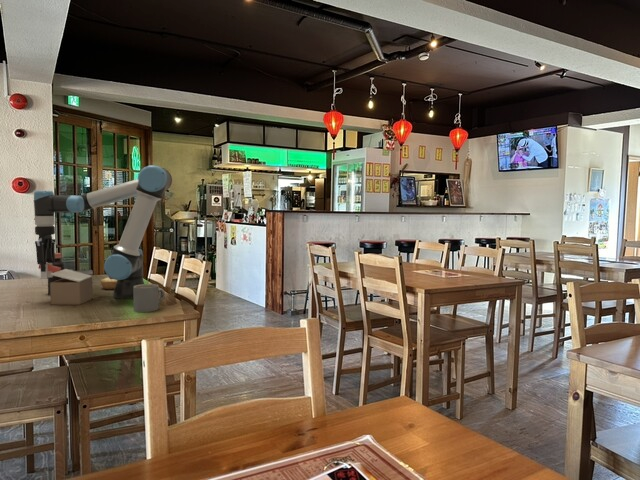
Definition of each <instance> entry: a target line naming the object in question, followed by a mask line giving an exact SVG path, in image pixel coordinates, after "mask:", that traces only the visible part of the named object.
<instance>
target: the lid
mask: <svg viewBox="0 0 640 480" xmlns="http://www.w3.org/2000/svg"><path fill="white" fill-rule="evenodd" d="M38 269H39V270H41V269H40V264H38ZM60 270H61V267H57V266H53V265H49V264H48V271H51V272H54V273H51V275H53V276H57V277H61V278H65V279H69V280H73V281H77V282H81V281H84V280H86V279H89V278H91V277H92V278H93V275H92V276H91V275H88V274H84V273H80V272H76V271H77V270H73V271H72V270H71V269H67V268H64V270H61V271H60Z"/></svg>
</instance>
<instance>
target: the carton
mask: <svg viewBox="0 0 640 480" xmlns="http://www.w3.org/2000/svg"><path fill="white" fill-rule="evenodd" d="M50 293H51V295H50V306H80V305H83V304H84V303H85V304H86V302H89V301H91V300H93V277H92V278H89V279H86V280H84V281H81V282H77V281H73V280H69V279H65V278H62V279H59V280H56V281H54V282H51V283H50Z"/></svg>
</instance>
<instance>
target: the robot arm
mask: <svg viewBox="0 0 640 480" xmlns="http://www.w3.org/2000/svg"><path fill="white" fill-rule="evenodd" d="M172 184H173V177H172V174H171V172H169V170H167V168H164V167H161V166H158V165H155V164H151V165H147V166H144V167H143V168H141V169H140V171H139V172H138V176H137V178H136V179H133V180H130V181H126V182H122V183H118V184H114V185H111V186H108V187H104V188H101V189H98V190H94V191H90V192H88V193H84V194H81V195H72V194H71V195H66V194H65V195H58V194H57V195H55V193H54V192H53V190H35V191H34V193H33V211H34V219H33V220H34V225H35V227H34V234H35V235H38V240H37V241H34V244H35V251H36V263H37V265H39V264H40V269H39V270H40V279H41V280H48V277H53V275H51V273H53V272H51V271H48V264H49V265H52V263H54V262H55V253H56V252H55V251H56V245H55V244H56V239H55V238H53V235H55V234H56V226H55V225H56V222H55V213H73V214H74V213H85V212H87V211H90V210H92V209H97V208H100V207H103V206H106V205H111V204H112V203H117V202H120V201H123V200H127V199H131V198H134V197H136V198H135V201H134V204H133V206H132V209H131V211H130V214H129V216H128V219H127V222H126V224H125V226H124V230H123V232H122V234H121V237H120V240H119V242H118V244H116V245H113V248H112V250H111V253H110V255H109V256H107V258H106V260H105V261H104V264H103V269H104V273H106V276H108V277H110V278H112V279H115V280H117V283H116V286H115V289H114V290H113V293H112V294H113V298H115V299H123V300H124V299H134V295H133V287H134V286H136V285H141V284H146V283H145V280H144V264H143V263H144V258H143V257H144V254H143V253H144V252H143V250H142V249H141V248H140V246H141V243H142V241H143V238H144V236H145V233H146V230H147V228H148V226H149V223H150V220H151V219H152V215H153V213H154V210H155V208H156V205H157V202H158V201H161V200H162V199H163V196H164V194H165V192H166V191H168V190H169V189H170V188H171V186H172Z"/></svg>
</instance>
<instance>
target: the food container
mask: <svg viewBox="0 0 640 480" xmlns="http://www.w3.org/2000/svg"><path fill="white" fill-rule="evenodd" d="M70 270H72V271H74V269H73V268H72V269H71V268H70ZM75 271H76V272H80V273H84V274H88V275H91V276H92V277H91V278H92V279H93V275H94V272H93V270H92V269H88V270H75Z"/></svg>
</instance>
